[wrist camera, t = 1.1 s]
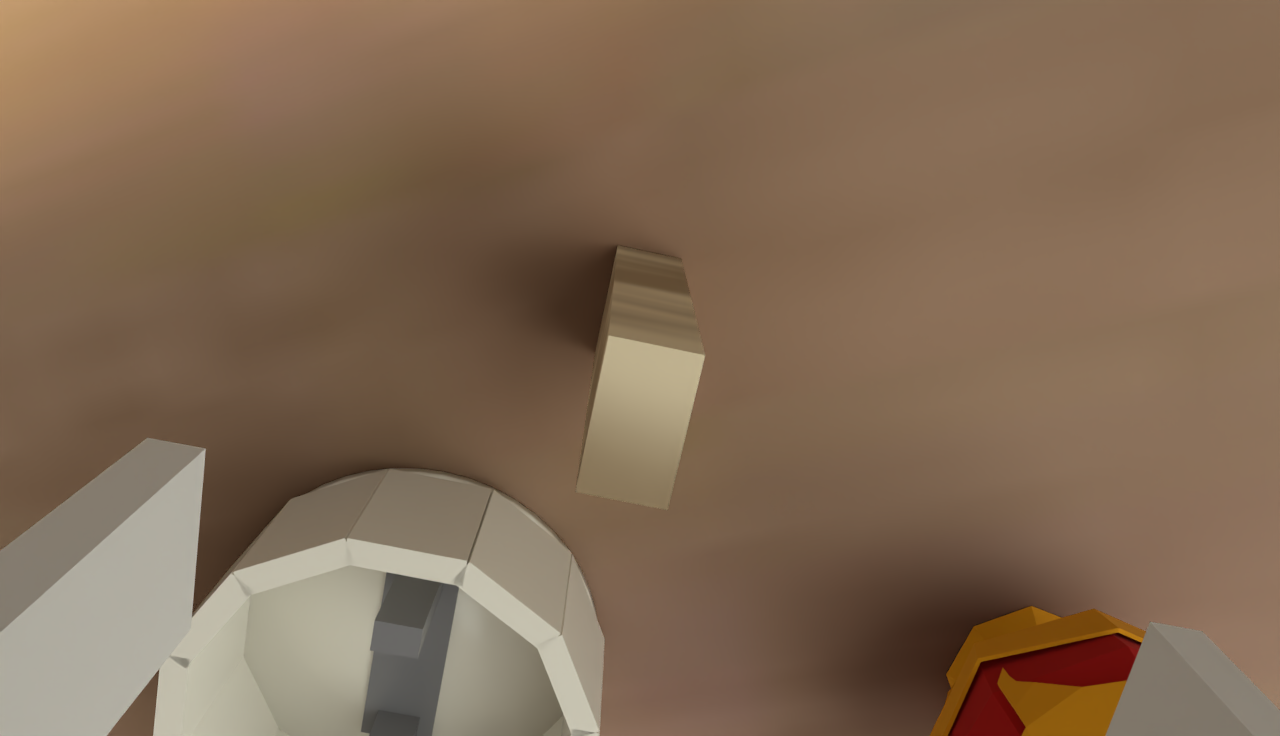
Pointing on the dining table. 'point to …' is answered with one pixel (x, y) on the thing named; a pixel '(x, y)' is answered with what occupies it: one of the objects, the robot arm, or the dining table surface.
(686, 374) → the cream rectangular box
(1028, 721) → the potion bottle
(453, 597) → the white round bowl
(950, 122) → the dining table surface
